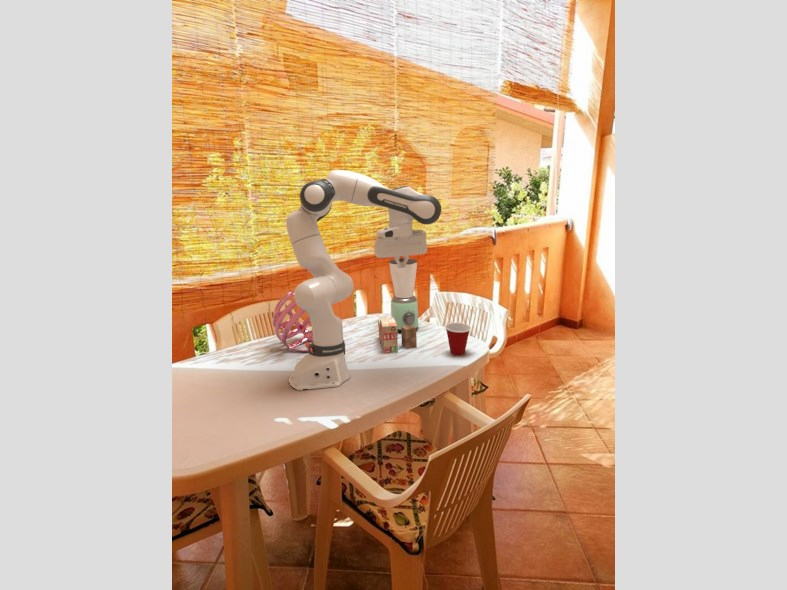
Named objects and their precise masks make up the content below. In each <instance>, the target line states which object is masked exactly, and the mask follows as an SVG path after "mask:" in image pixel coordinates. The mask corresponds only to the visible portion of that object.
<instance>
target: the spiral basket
mask: <svg viewBox="0 0 787 590" xmlns="http://www.w3.org/2000/svg"><path fill="white" fill-rule="evenodd" d="M294 292H295V289H294V290H291V291H289V292H287V293H286V294H285V295H283V296H282V297H281V298H280V299H279V300H278V302H277V303H276V306H275V308H274V313H273V314H272V315H273V317H272V326H273V328H274V333H275V336H276V337H277V338H278V339H279V341H280V343H282V344H283V345H284V346H285V347H286V348H288V349H290V350H291V351H294V352H298V351H305V352H304V353H309V352H308V349H299V348H296V347H293V346H295V345H297V344H299V343H302V342H304V343H307V342H308V341H311V342H312V343H313V333H312V329H311V330H309V329H307V327H308V326H309V325H310V324H311V321H310V318H309V316H307V318H306V319H305V320H303V322H300V321H299V319H300V318H301V317H302V316H303V315H304V313H306V312H305V311H304V310H303V309H301V308H300V307H299V309H298V310H296V311H295V312H294V313H293V312H292V311H293V309H295V307H296V306H298V305H297V303H296V301H295V298H293V300H292V301H290V302H289V303H288V305H287V304H286V303H287V302H288V301H289V300H290V299H291V298H292V297H293V296H294ZM283 306H285V308H284V309H283V310H281V309H282V307H283ZM287 315H288V316H289V318H288V319H287V320H285V321H283V320H284V319H285V318H286V316H287ZM294 325H295V329H294V330H291V329H292V328H293V326H294ZM280 330H282V333H280ZM298 334H303V336H302V337H300V338H299V339H298V340H296V341H294V342H291V343H287V340H288V339H292V338H294V337H295V336H297V335H298ZM292 347H293V348H292Z"/></svg>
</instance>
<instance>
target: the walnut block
mask: <svg viewBox="0 0 787 590" xmlns="http://www.w3.org/2000/svg"><path fill="white" fill-rule="evenodd" d="M417 340H418V339H417V331H416V327H414V326H413V325H408V326H401V346H402V348H404V349H405V350H410V349H412V350H413V349H416V348H417V344H418V343H417Z"/></svg>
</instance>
